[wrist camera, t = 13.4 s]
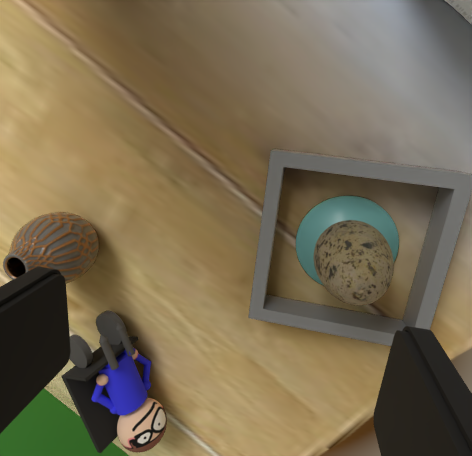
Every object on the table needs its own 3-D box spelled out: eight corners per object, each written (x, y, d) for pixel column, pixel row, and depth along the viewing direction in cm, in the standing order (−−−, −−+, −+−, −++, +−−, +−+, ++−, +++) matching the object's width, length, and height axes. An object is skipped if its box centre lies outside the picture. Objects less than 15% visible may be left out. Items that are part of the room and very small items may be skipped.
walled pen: (274, 148, 31) (270, 150, 28) (459, 171, 29) (476, 175, 26) (252, 303, 35) (248, 317, 32) (412, 333, 33) (422, 352, 30)
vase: (122, 242, 36) (67, 275, 28) (83, 280, 39) (22, 320, 30) (76, 192, 36) (7, 210, 28) (39, 233, 38) (-35, 261, 30)
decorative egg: (393, 255, 31) (431, 308, 22) (333, 284, 33) (344, 345, 23) (359, 199, 30) (384, 228, 21) (300, 232, 32) (298, 273, 23)
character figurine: (138, 298, 38) (181, 411, 41) (80, 312, 40) (126, 420, 43) (103, 337, 31) (160, 472, 34) (33, 353, 32) (94, 481, 35)
